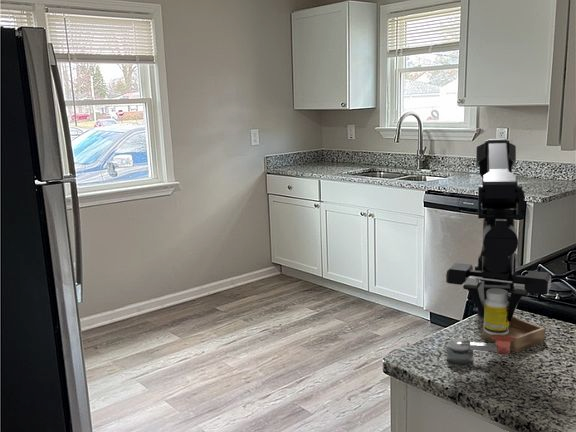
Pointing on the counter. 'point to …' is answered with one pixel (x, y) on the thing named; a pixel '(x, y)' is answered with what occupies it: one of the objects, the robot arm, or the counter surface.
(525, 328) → the tray
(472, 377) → the counter surface
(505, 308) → the supplement bottle
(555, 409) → the counter surface
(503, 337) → the crank
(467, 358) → the block
